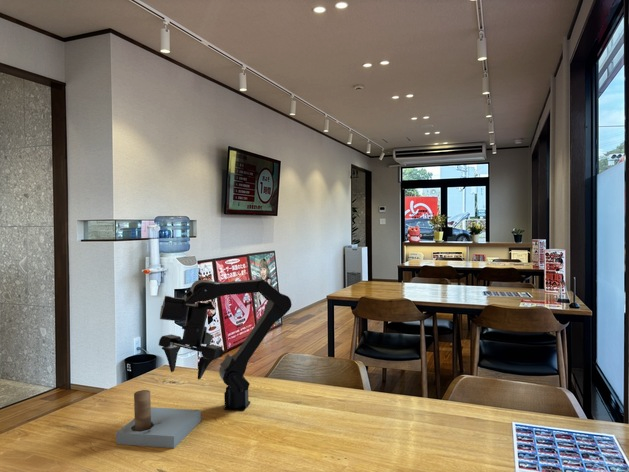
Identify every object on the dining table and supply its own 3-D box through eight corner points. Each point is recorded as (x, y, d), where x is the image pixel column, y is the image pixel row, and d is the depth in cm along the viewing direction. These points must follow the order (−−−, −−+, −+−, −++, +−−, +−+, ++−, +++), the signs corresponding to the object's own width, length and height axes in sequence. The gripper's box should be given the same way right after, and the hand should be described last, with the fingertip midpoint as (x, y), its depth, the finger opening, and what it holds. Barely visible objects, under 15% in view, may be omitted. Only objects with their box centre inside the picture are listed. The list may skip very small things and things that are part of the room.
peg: (153, 433, 118) (152, 389, 118) (148, 440, 114) (147, 395, 114) (137, 434, 118) (136, 390, 118) (132, 441, 114) (131, 396, 114)
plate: (201, 420, 126) (200, 410, 126) (174, 448, 110) (173, 436, 110) (149, 417, 129) (149, 407, 129) (116, 444, 113) (116, 432, 113)
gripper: (235, 326, 135) (226, 377, 134) (183, 314, 141) (174, 363, 140) (218, 330, 125) (207, 385, 124) (162, 317, 130) (152, 370, 129)
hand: (185, 375), depth 129 cm, fingers open, 9 cm apart
